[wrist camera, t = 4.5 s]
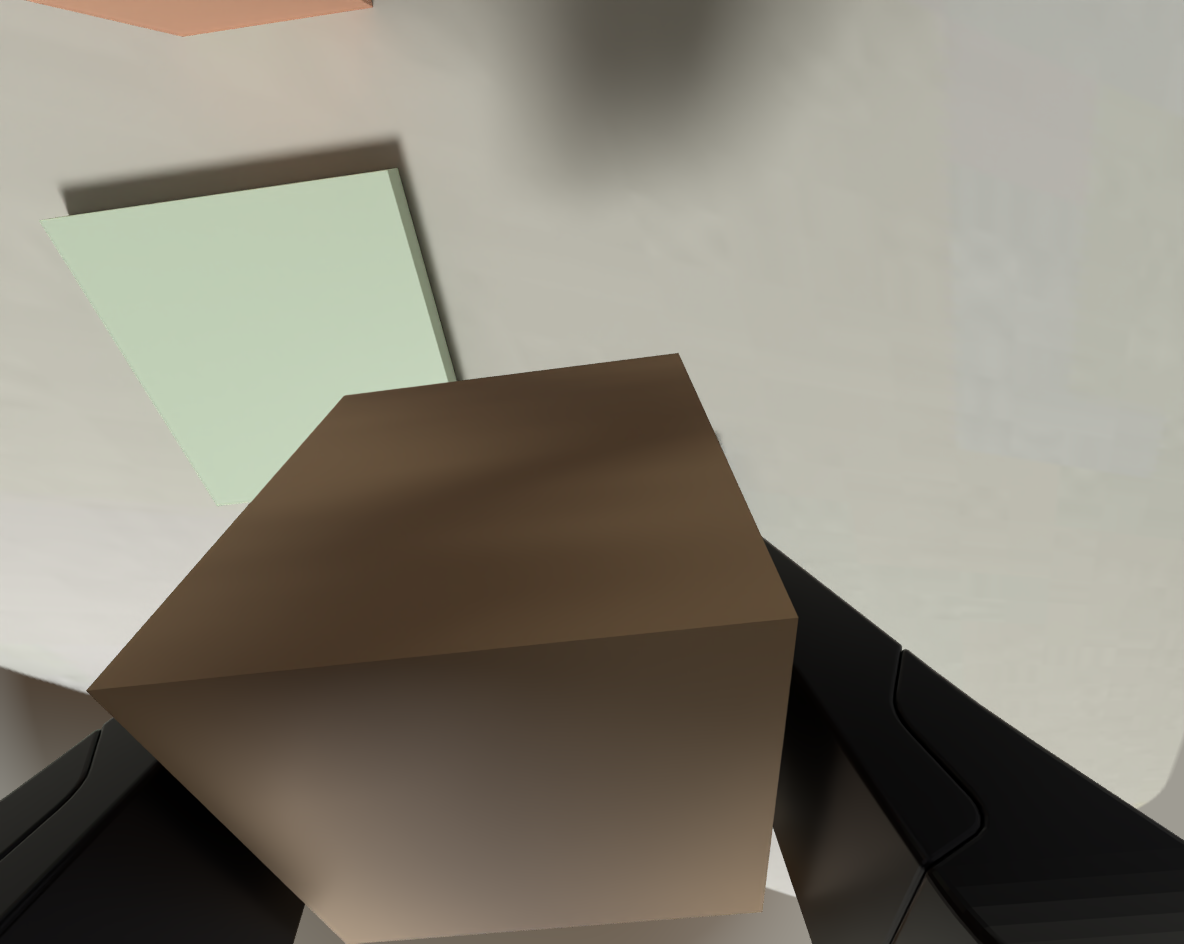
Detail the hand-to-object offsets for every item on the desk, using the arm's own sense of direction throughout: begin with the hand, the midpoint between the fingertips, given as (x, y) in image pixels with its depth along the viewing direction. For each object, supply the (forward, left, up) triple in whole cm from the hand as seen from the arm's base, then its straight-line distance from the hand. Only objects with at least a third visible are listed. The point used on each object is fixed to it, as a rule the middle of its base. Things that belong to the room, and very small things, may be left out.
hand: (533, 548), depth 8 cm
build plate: (+9, 0, -11) cm, 14 cm away
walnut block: (0, 0, -1) cm, 1 cm away
